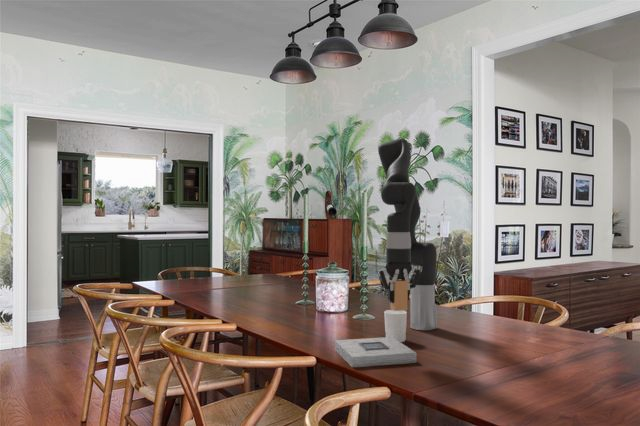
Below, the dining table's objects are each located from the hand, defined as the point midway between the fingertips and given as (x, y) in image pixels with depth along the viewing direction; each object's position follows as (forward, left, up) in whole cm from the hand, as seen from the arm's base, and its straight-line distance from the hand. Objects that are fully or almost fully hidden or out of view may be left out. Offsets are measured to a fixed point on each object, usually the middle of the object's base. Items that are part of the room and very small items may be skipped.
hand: (398, 301), depth 157 cm
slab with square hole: (+7, -4, -17) cm, 19 cm away
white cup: (-7, -21, -18) cm, 28 cm away
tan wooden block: (0, 0, -2) cm, 2 cm away
